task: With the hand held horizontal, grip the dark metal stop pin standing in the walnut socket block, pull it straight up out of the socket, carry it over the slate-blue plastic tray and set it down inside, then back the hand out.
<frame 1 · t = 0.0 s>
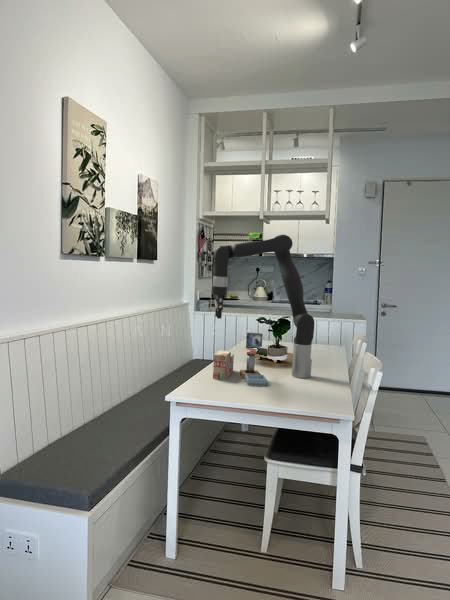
hand: (218, 317, 242), 29 cm above the table, tool pointing down, fingers open, 8 cm apart
stack of blocks: (223, 375, 245), on the table
tray: (255, 383, 230), on the table
miniature car: (269, 360, 288), on the table
socket block: (249, 377, 240), on the table
stop pin: (250, 364, 240), in the socket block
small box: (253, 349, 324), on the table
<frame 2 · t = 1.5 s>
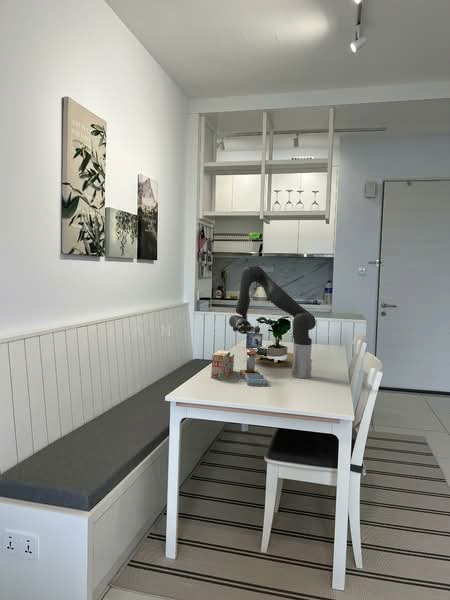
hand: (248, 331, 249), 22 cm above the table, tool horizontal, fingers open, 8 cm apart
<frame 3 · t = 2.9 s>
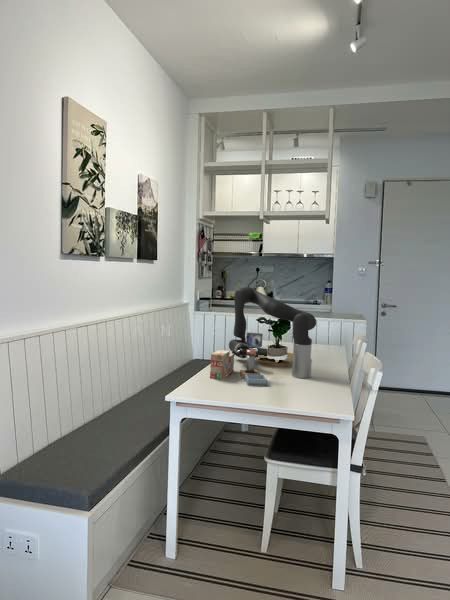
hand: (247, 355, 251), 9 cm above the table, tool horizontal, fingers open, 8 cm apart
stack of blocks: (222, 374, 245), on the table, touching gripper
everything else where it was.
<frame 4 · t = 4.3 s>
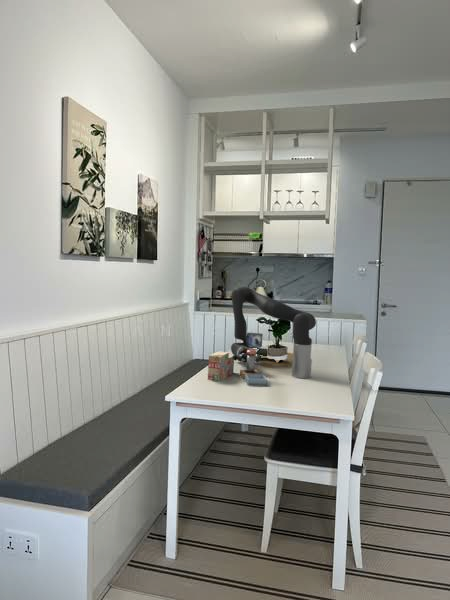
hand: (249, 360, 244), 8 cm above the table, tool horizontal, fingers open, 8 cm apart
stack of blocks: (220, 376, 241), on the table
everything else where it was.
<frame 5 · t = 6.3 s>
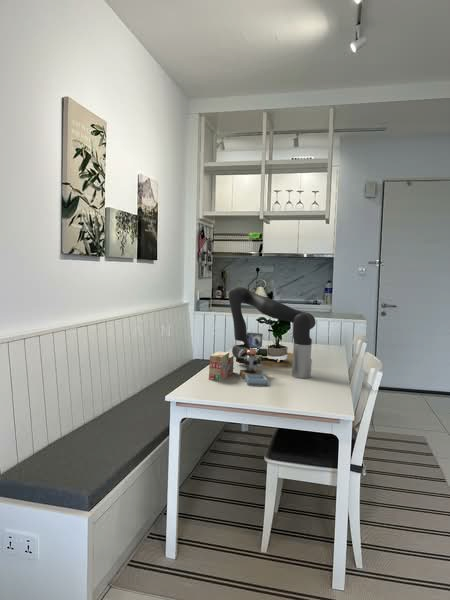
hand: (251, 363, 237), 8 cm above the table, tool horizontal, fingers closed on stop pin, 4 cm apart
stop pin: (250, 364, 240), in the socket block, touching gripper
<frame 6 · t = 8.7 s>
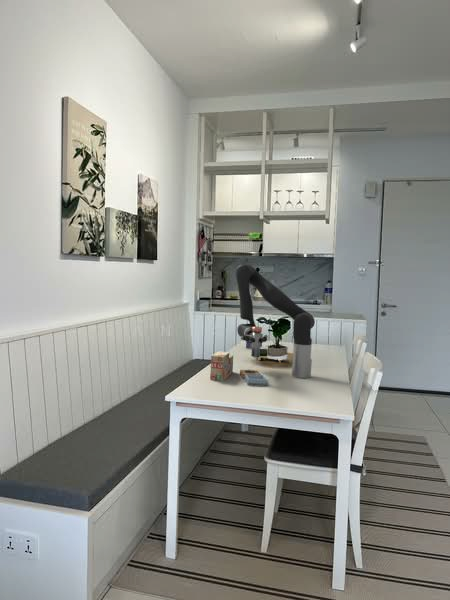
hand: (257, 340, 228), 21 cm above the table, tool horizontal, fingers closed on stop pin, 4 cm apart
stop pin: (256, 341, 231), point 20 cm above the table, touching gripper
when the fingers open (11 cm above the table, at t = 11.1 s): stop pin drops 2 cm, resting on tray.
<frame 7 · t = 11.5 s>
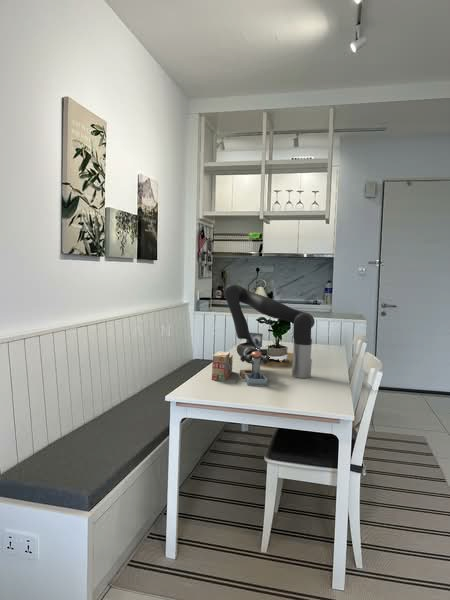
hand: (257, 361, 227), 11 cm above the table, tool horizontal, fingers open, 7 cm apart
stop pin: (256, 366, 229), in the tray, point 8 cm above the table
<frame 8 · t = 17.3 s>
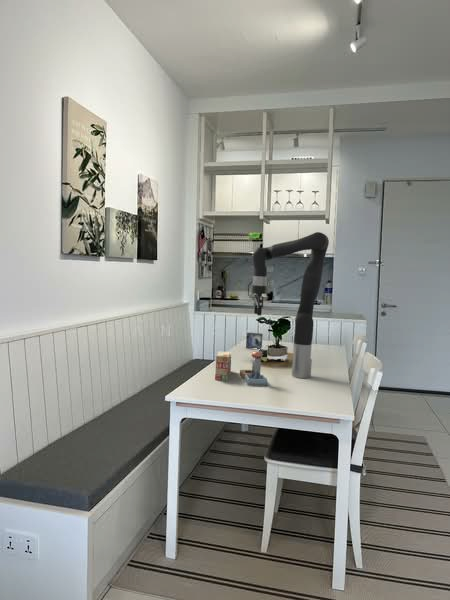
hand: (257, 314, 258), 30 cm above the table, tool pointing down, fingers open, 8 cm apart
at the end: stop pin inside the target area on the tray (0.1 cm from its centre), point 8.0 cm above the tray's base; the gripper is holding nothing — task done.
